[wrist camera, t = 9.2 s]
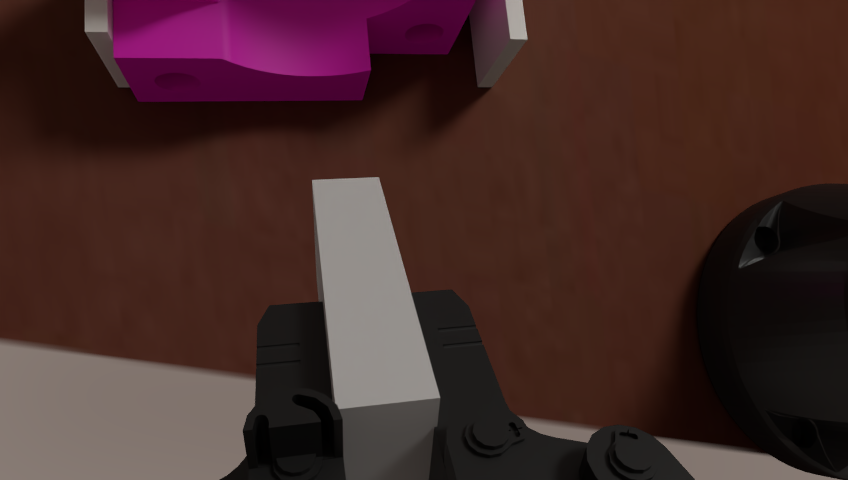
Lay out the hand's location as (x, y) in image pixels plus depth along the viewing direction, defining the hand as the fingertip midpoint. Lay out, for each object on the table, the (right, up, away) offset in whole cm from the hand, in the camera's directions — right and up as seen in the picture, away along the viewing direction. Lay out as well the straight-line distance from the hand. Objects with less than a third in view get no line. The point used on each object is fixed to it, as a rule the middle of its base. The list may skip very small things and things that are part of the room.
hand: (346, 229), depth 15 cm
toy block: (-4, +10, +17) cm, 20 cm away
